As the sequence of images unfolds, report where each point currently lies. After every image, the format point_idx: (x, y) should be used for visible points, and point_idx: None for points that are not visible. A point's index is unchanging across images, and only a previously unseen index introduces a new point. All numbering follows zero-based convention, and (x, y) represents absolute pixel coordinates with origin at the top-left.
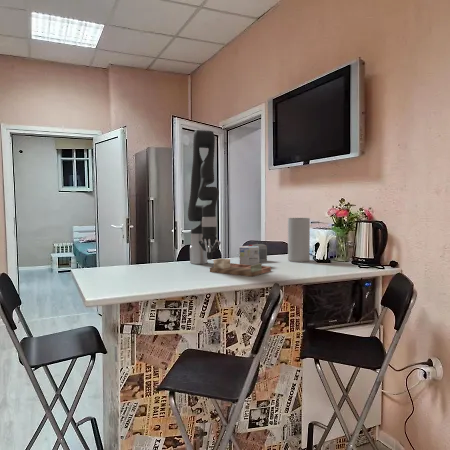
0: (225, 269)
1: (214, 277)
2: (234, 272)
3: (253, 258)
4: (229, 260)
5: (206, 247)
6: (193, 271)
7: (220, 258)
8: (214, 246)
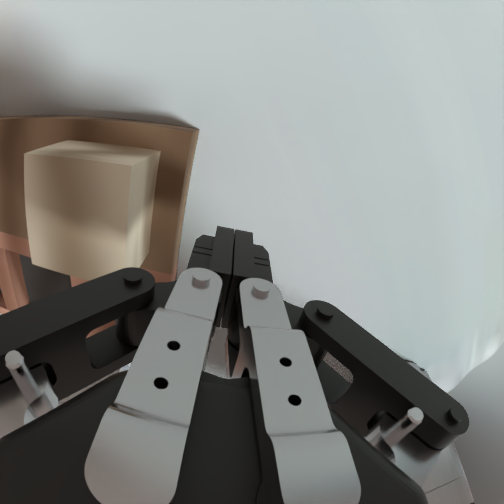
0: (44, 119)
1: None
2: (4, 118)
3: None
4: (36, 249)
5: (269, 327)
6: (347, 109)
7: None
8: (55, 312)
